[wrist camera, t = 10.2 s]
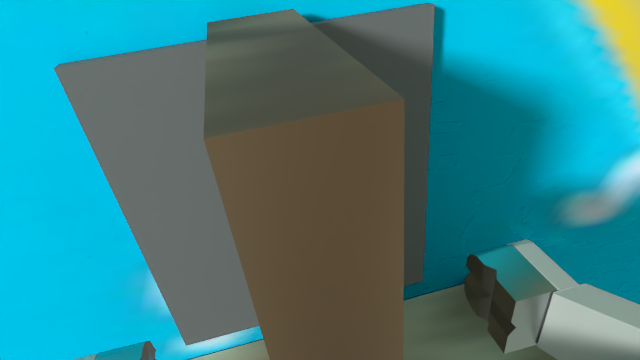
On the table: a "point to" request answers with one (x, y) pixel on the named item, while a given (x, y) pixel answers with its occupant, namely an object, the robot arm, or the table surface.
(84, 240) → the table surface
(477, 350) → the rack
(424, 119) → the mat
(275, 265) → the walnut board
